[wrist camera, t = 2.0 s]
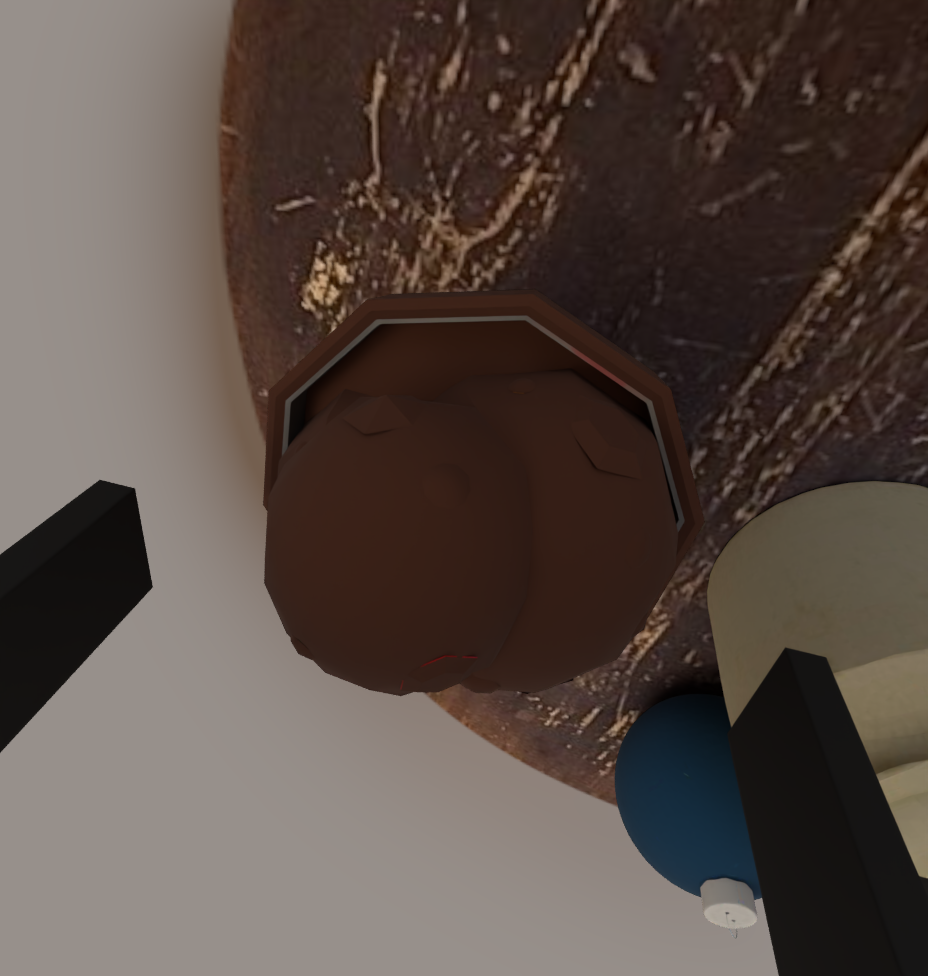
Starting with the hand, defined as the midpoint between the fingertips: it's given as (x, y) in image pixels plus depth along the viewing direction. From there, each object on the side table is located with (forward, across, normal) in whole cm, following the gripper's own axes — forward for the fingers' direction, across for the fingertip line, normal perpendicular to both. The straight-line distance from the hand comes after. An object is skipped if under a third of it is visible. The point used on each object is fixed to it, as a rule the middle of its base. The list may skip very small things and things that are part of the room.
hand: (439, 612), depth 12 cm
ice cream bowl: (+13, 0, 0) cm, 13 cm away
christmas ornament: (+13, +13, -16) cm, 24 cm away
